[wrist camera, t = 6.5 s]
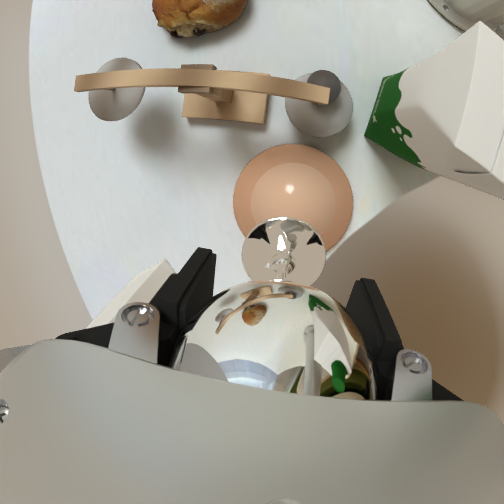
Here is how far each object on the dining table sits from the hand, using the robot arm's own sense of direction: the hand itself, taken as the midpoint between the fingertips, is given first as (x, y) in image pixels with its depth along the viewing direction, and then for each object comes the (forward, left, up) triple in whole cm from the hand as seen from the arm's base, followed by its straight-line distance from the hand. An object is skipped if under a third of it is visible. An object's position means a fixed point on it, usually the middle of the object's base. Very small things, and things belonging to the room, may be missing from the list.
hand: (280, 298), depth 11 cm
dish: (-1, 0, -19) cm, 19 cm away
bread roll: (+12, -21, -20) cm, 31 cm away
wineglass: (0, 0, -4) cm, 4 cm away
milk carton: (-11, -11, -19) cm, 25 cm away
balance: (+7, -10, -19) cm, 23 cm away
